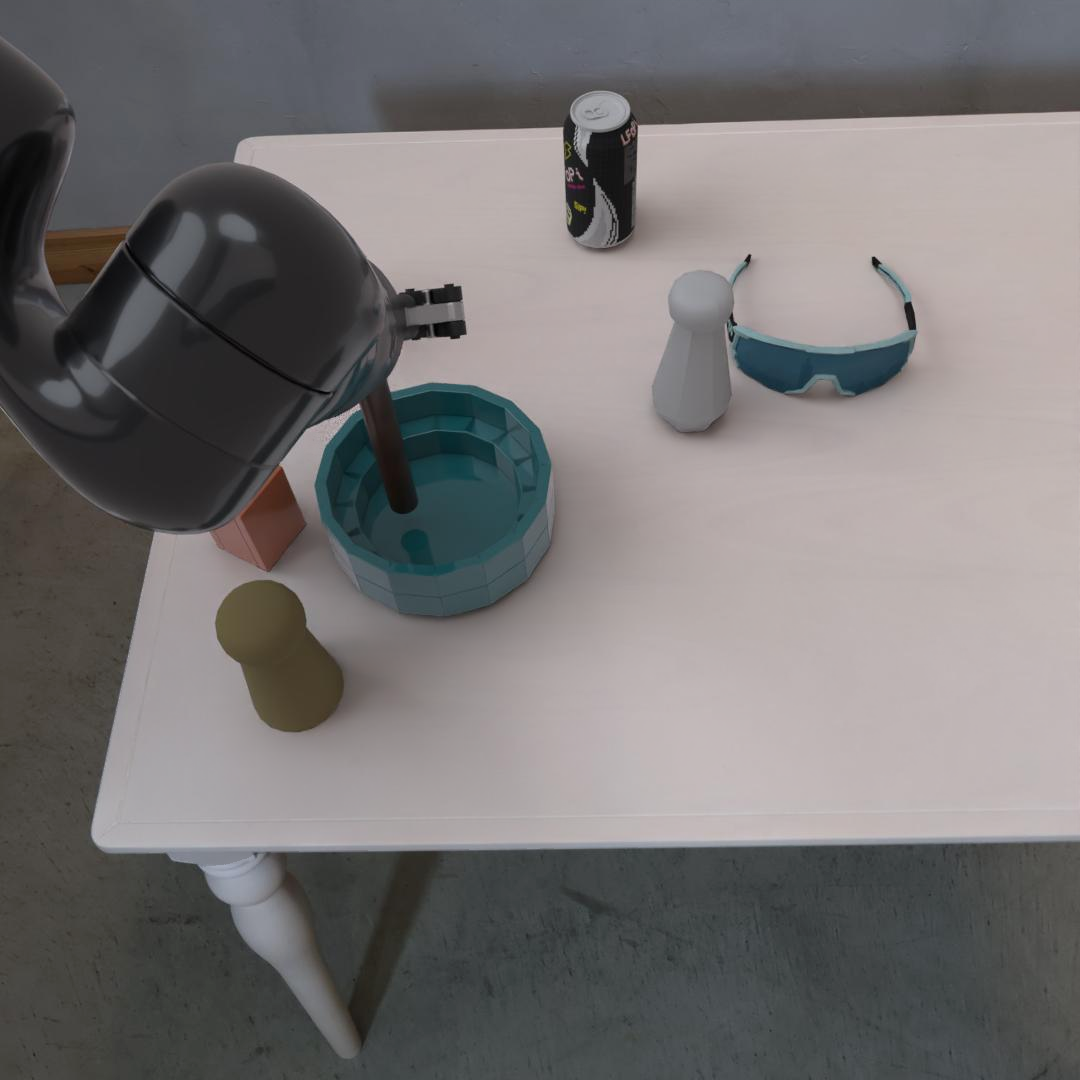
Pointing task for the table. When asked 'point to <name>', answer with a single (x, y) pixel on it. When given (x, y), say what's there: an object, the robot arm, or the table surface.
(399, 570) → the bowl
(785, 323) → the table surface
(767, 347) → the sunglasses
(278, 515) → the holder
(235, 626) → the cork
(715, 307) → the salt shaker
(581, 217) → the beverage can
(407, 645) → the table surface
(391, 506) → the stick
